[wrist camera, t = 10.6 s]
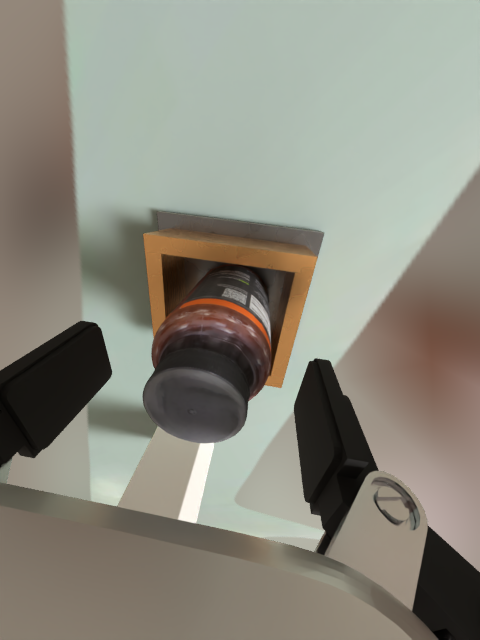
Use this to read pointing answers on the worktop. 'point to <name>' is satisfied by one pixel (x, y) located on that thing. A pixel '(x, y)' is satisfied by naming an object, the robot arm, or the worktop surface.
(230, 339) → the supplement bottle
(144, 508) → the milk
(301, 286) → the square wooden tray
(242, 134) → the worktop surface
